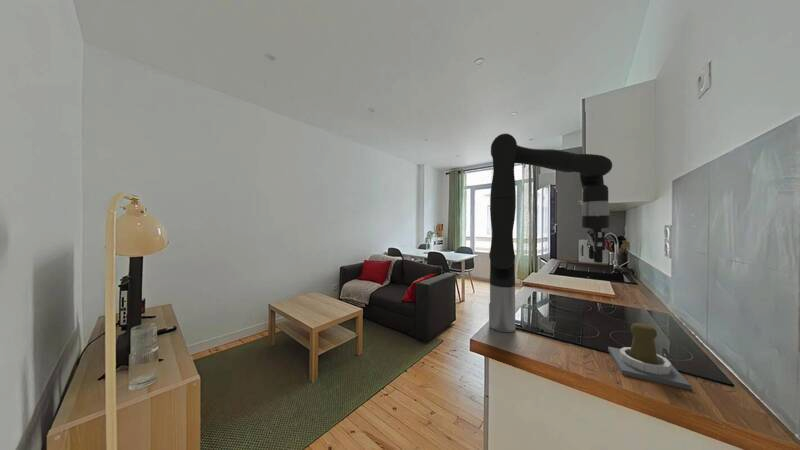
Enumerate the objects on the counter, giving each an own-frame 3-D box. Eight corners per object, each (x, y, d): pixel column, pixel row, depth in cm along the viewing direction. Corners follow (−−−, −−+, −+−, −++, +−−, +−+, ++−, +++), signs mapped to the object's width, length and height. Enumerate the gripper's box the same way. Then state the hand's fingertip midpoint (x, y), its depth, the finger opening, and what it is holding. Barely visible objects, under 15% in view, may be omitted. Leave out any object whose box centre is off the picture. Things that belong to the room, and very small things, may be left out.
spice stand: (621, 374, 66) (621, 362, 66) (608, 350, 78) (608, 340, 78) (691, 390, 59) (691, 377, 59) (664, 361, 72) (664, 350, 72)
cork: (665, 370, 65) (665, 330, 65) (639, 368, 66) (639, 328, 66) (647, 358, 71) (647, 321, 71) (623, 356, 72) (623, 319, 72)
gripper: (578, 215, 93) (579, 257, 93) (585, 214, 80) (585, 262, 80) (603, 214, 89) (603, 258, 89) (615, 213, 77) (615, 264, 77)
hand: (595, 260), depth 85 cm, fingers open, 8 cm apart
